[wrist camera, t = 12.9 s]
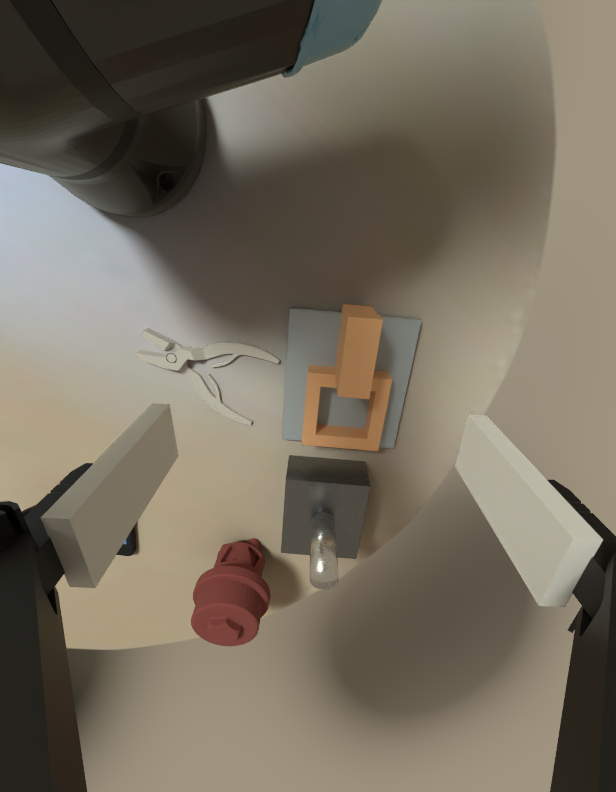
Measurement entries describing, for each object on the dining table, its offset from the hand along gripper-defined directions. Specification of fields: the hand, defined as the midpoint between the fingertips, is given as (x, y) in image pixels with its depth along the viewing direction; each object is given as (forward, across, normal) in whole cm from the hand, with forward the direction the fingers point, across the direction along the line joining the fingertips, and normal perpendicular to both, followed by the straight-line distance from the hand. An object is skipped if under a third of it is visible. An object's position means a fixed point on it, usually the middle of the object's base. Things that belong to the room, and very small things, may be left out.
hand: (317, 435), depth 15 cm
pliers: (+24, -13, -6) cm, 28 cm away
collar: (+23, +4, -6) cm, 24 cm away
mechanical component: (+23, -10, -36) cm, 44 cm away
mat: (+24, +4, -7) cm, 25 cm away
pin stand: (+23, +2, -24) cm, 34 cm away
